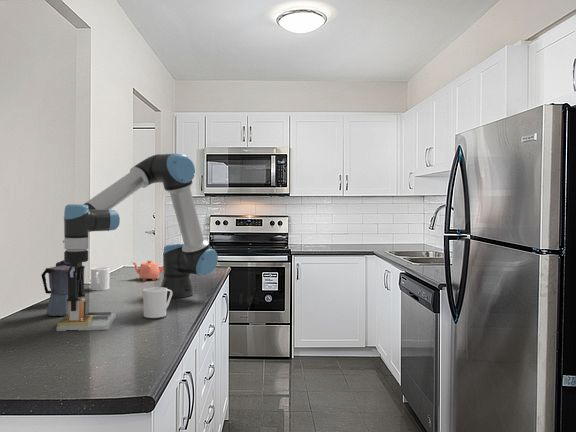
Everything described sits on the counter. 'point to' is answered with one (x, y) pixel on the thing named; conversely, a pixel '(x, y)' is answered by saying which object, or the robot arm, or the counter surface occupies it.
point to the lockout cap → (81, 311)
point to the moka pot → (57, 289)
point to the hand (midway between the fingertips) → (76, 317)
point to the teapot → (148, 270)
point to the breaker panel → (88, 322)
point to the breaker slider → (85, 306)
